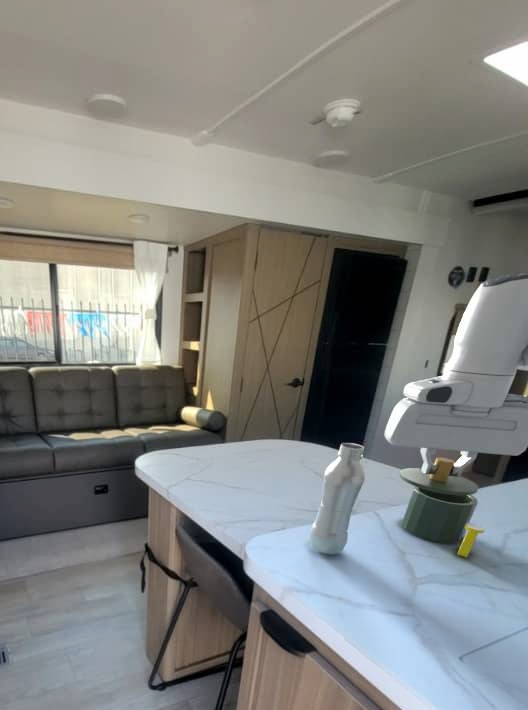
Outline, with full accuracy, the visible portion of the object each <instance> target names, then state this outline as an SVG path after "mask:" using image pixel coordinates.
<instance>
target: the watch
mask: <svg viewBox="0 0 528 710" xmlns="http://www.w3.org/2000/svg"><path fill="white" fill-rule="evenodd" d="M465 529H466V531H467V532H466V534H465V536H464V538H463V539H462V542H461V545H460V547H459V549H458V552H457V556H459V557H462V558H467V557H468V555H469V554H470V551H471V549H472V548H473V545H474V543H475V541H476V539H477V536H478V534H483V533H484V532H485V527H484V526H483V525H480V524H478V523H473V522H469V523H467V524H466V525H465Z"/></svg>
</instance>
